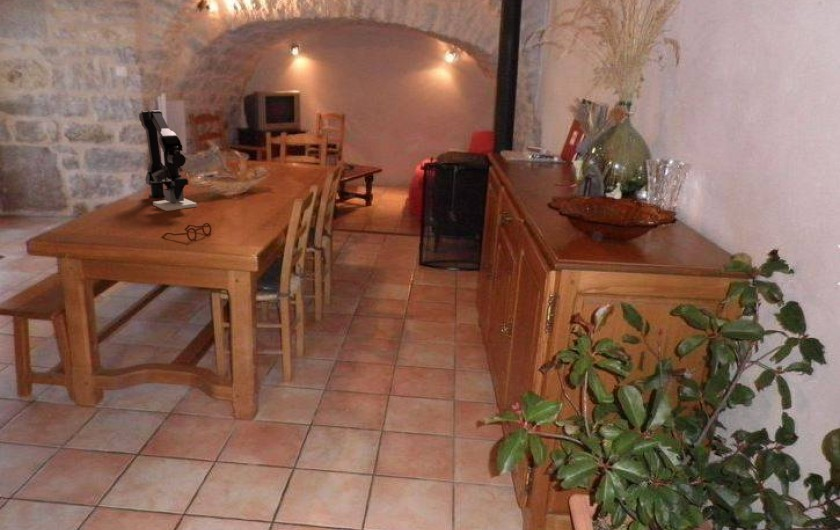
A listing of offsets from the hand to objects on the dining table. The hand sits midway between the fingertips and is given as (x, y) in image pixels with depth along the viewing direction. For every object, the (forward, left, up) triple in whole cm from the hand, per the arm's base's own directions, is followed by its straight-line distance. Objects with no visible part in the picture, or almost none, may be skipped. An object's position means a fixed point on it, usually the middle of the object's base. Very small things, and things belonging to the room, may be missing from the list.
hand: (174, 198), depth 284 cm
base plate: (0, 0, -4) cm, 4 cm away
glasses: (+49, -17, -4) cm, 52 cm away
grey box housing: (0, 0, -1) cm, 1 cm away
